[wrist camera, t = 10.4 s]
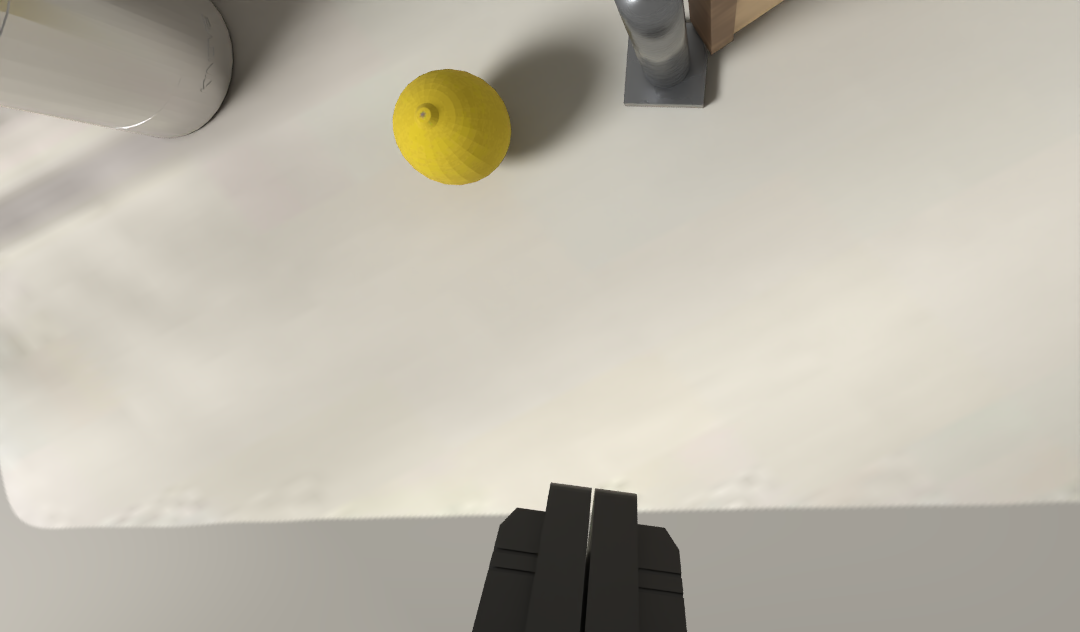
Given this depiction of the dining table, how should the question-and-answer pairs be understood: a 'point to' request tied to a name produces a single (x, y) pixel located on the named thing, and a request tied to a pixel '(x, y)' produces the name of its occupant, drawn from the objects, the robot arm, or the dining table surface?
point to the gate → (725, 18)
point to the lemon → (452, 126)
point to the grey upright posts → (662, 55)
